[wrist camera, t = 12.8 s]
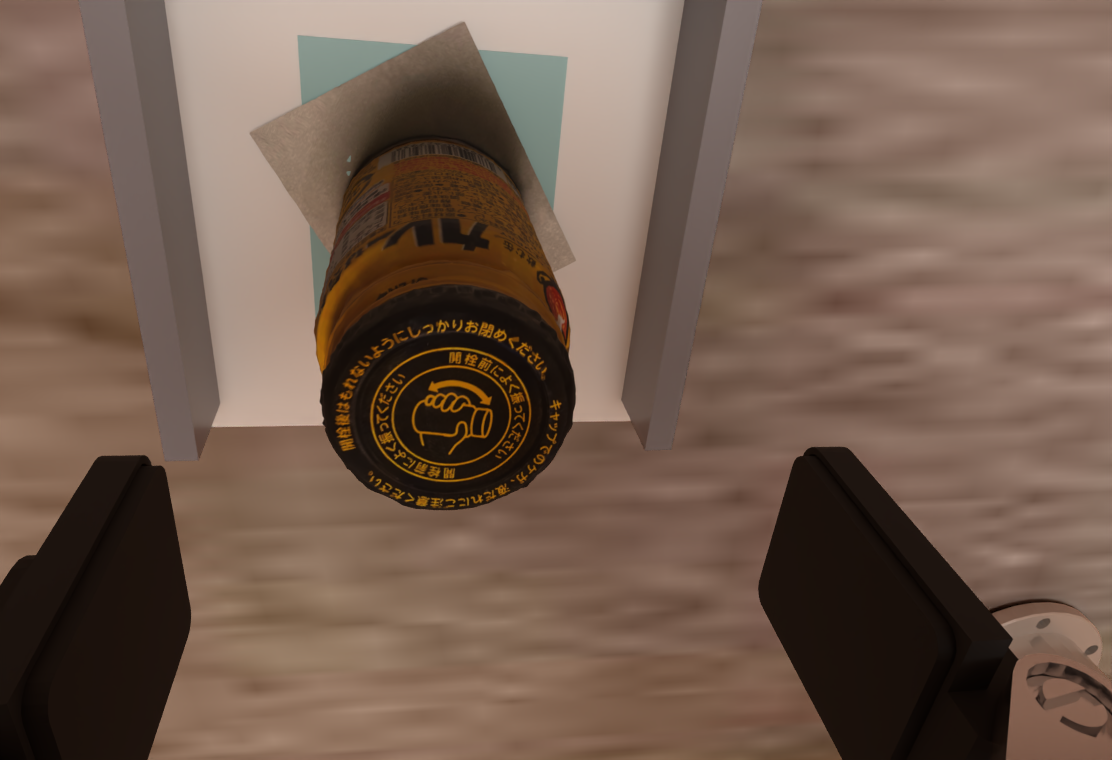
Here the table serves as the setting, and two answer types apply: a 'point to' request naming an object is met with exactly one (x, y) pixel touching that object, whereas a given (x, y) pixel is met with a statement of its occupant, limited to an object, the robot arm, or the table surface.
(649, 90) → the dock
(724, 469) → the table surface
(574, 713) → the table surface
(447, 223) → the condiment
